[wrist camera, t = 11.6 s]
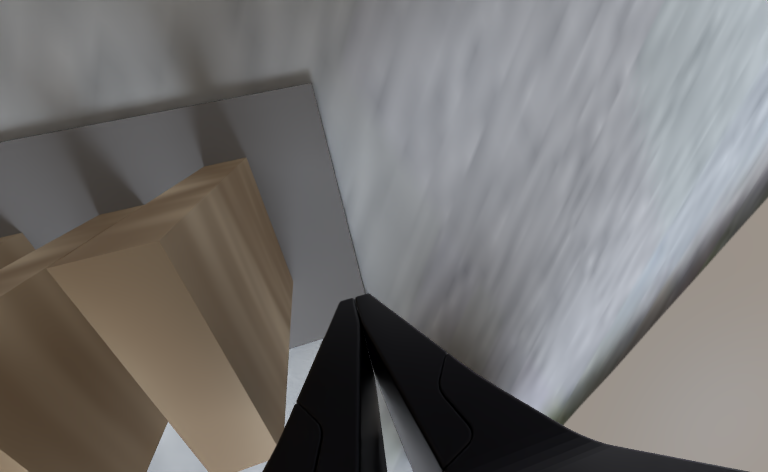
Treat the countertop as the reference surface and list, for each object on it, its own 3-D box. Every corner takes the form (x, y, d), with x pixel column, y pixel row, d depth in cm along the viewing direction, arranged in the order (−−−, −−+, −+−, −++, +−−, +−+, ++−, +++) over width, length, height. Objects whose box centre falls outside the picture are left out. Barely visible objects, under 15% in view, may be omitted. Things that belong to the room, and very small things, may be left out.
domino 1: (143, 204, 12) (-107, 365, 5) (210, 322, 14) (117, 540, 7) (99, 214, 11) (-240, 401, 4) (174, 332, 14) (42, 567, 7)
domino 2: (246, 157, 12) (159, 240, 5) (293, 281, 14) (282, 455, 7) (204, 166, 12) (46, 268, 4) (259, 291, 14) (214, 479, 7)
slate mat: (311, 83, 12) (311, 82, 11) (371, 318, 17) (372, 322, 17) (-593, 255, 8) (-632, 262, 8) (-165, 483, 14) (-178, 494, 13)
